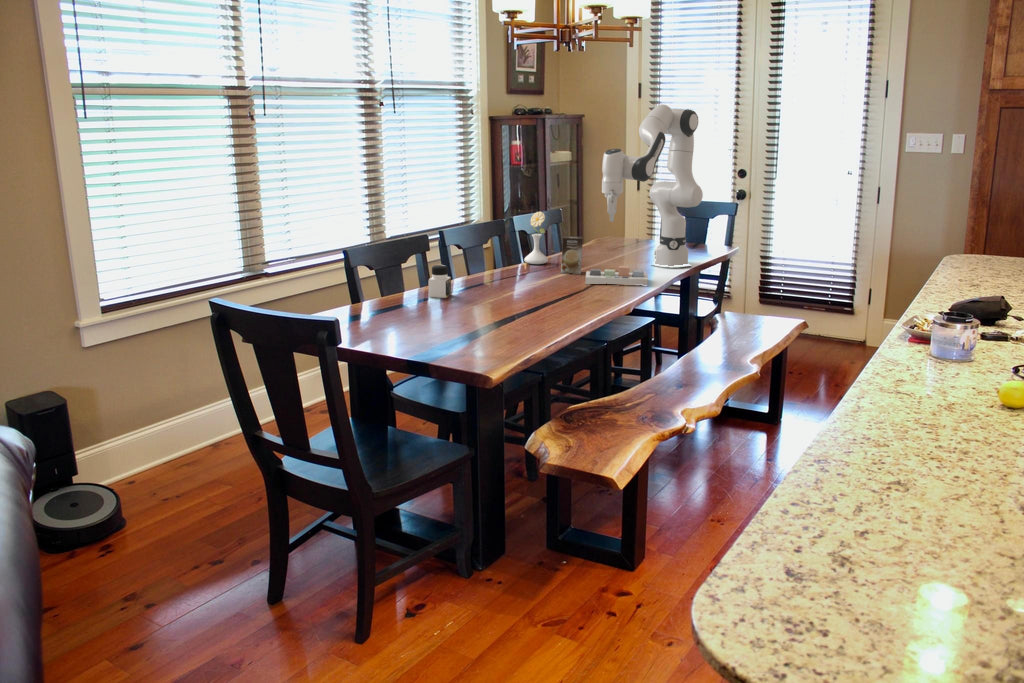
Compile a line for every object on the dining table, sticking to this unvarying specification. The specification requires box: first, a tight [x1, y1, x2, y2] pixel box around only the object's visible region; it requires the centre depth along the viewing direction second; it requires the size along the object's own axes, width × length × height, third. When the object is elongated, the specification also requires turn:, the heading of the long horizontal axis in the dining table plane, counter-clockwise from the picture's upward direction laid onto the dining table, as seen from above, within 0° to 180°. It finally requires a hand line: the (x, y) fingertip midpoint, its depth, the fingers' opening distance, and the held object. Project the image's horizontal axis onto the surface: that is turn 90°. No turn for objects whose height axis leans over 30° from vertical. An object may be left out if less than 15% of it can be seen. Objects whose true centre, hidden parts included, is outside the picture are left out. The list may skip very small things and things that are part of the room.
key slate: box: [632, 269, 645, 277], centre depth 365 cm, size 4×4×4 cm
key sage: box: [603, 268, 616, 276], centre depth 367 cm, size 4×4×4 cm
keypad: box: [584, 270, 649, 286], centre depth 366 cm, size 14×26×3 cm, turn 84°
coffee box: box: [560, 235, 583, 275], centre depth 384 cm, size 9×6×16 cm
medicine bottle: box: [428, 264, 452, 299], centre depth 335 cm, size 7×7×12 cm
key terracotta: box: [618, 265, 630, 277], centre depth 365 cm, size 4×4×4 cm
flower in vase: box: [523, 211, 549, 265], centre depth 403 cm, size 13×11×25 cm
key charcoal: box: [589, 268, 602, 276], centre depth 367 cm, size 4×4×4 cm
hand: (611, 221), depth 366 cm, fingers closed
